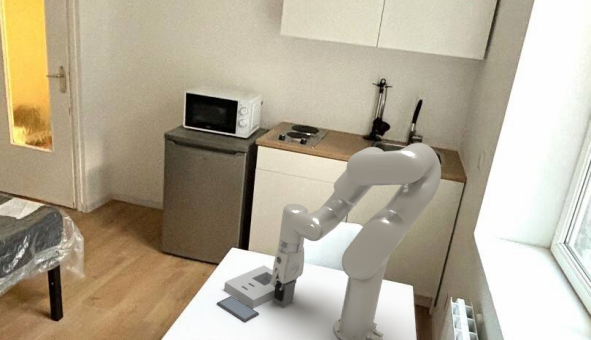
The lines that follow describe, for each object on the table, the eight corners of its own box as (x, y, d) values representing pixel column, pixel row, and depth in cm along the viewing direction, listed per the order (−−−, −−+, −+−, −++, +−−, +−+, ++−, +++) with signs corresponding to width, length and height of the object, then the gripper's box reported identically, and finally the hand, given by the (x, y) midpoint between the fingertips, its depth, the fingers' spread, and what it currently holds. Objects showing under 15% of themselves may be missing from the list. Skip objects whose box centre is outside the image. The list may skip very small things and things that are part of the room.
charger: (292, 302, 153) (295, 280, 150) (283, 307, 149) (286, 284, 147) (282, 296, 155) (285, 274, 153) (273, 301, 152) (276, 278, 150)
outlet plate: (291, 289, 160) (292, 280, 160) (252, 308, 147) (253, 299, 146) (262, 273, 168) (263, 265, 167) (224, 290, 155) (225, 281, 154)
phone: (258, 316, 144) (259, 312, 144) (244, 324, 140) (245, 320, 139) (230, 299, 151) (231, 295, 151) (216, 306, 147) (216, 302, 146)
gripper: (281, 256, 138) (274, 311, 143) (317, 241, 151) (309, 292, 156) (263, 246, 142) (256, 300, 148) (299, 233, 155) (291, 283, 160)
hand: (283, 296), depth 152 cm, fingers closed on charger, 4 cm apart
